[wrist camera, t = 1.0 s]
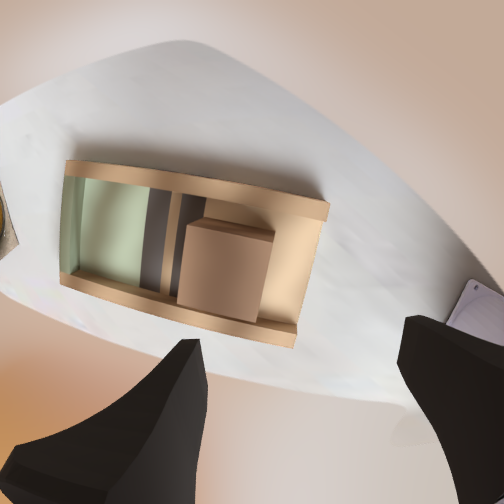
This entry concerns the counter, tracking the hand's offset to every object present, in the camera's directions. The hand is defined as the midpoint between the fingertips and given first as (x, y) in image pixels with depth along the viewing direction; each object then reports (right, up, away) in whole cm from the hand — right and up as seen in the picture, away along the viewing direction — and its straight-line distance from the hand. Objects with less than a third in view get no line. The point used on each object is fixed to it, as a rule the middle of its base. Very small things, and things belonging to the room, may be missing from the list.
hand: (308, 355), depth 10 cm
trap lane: (-7, +4, +13) cm, 16 cm away
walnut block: (-3, +3, +12) cm, 13 cm away
